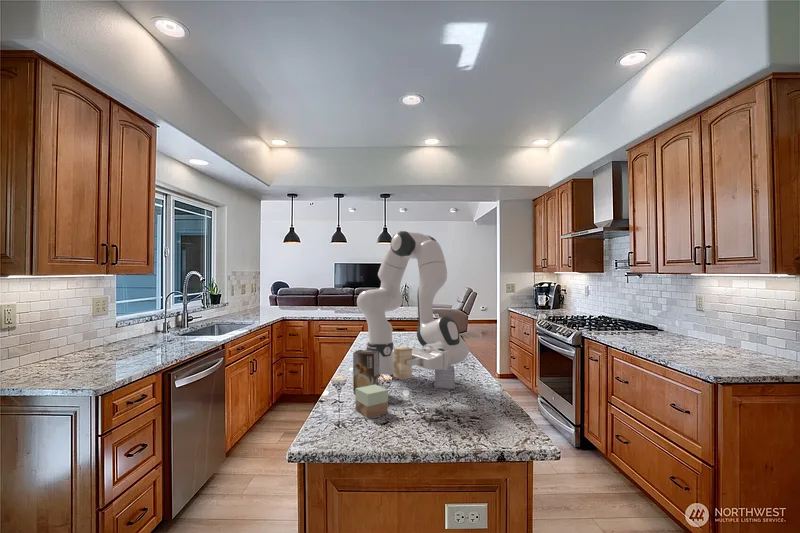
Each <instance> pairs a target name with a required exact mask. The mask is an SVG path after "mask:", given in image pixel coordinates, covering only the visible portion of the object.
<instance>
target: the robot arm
mask: <svg viewBox="0 0 800 533" xmlns="http://www.w3.org/2000/svg"><path fill="white" fill-rule="evenodd" d="M411 259H416V260H417V263H418V265H417V266H418V272H419V275H418V276H419V278H418V279H419V282H418V289H417V294H416V295H417V316H418V317H417V318H418V322H417V323H418V324H417V329H416V337H417V340H418V343H419V344H420V345H421V346H422V348H421V349H419V348H415V347H411V348H412V359H407V360H405V365H408V366H409V365H412V366H416V367H417V366H418V367H420V368H423V369H426V370H429V371H435V370H438V369H441V370H446V369H448V365H456V364H459V363H462V362H464V361H465V360H466V359H468V358H467V357H468V355H469V351H470V350H469V345H468V342H466V341H465V340H464V339H463V338H462V336H461V334H460V331H459V325H458V324H457V322H456V320H454V319H453V318H452V317H450V316H448V315H445V316H442V317H439V318H436V319H434V309H433V308H434V306H433V301H434V299H435V297H436V295H437V293H438V292H439V291H440V290H441V288H442V287H443V286H444V285H445V284H446V281H447V279H448V269H447V264H446V260H445V256H444V253H443V250H442V247H441V245H440V243H439V242H438V241H437V240H436V239H435V238H434V237H432V236H431V235H427V234H423V233H420V232H412V231H404V230H401V231H396V232H395V233H394V234H393V235H392V236H391V239H390V244H389V246H388V248H387V250H386V251H385V254H384V255H383V259H382V262H381V264H380V265H379V266H380V267H379V269H378V272H377V277H378V278H379V281H380V287H379V288H377V289H376V288H375V289H367V290H364V291H362V292H360V293H359V295H358V296H357V298H356V306H357V308H358V310H359V311H360V312H361V313H362V314H363V316H364V317H365V319H366V320H365V321H366V324H367V328H368V329H367V330H368V334H367V335H368V342H367V343H365V346H366V348H365V349H366V350H370V351H379V375H381V374H389V376H392V375H393V373H394V341H393V326H392V325H393V324H391V322H389V321H388V320H387V317H386V313H387V312H393V311H395V310H397V309H399V308H401V307H402V304H403V302H404V300H403V298H404V297H403V295H402V292H401V289H400V288H401V283H402V279H403V277H404V274H405V271H406V269H407V265H408V262H409V261H410V260H411Z"/></svg>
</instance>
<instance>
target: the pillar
mask: <svg viewBox="0 0 800 533" xmlns="http://www.w3.org/2000/svg"><path fill="white" fill-rule="evenodd" d="M412 348H413V347H408V346H405V345H404V346H396V347H393V352H394V373H393V377H394V378H396V379H398V380H406V379H411V378H412V376H413V375H412V372H413V370H412V368H413V365H409V366H408V365H405V360H407V359H412Z"/></svg>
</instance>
